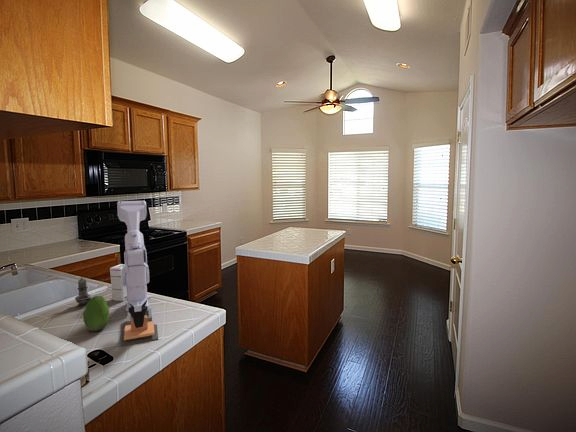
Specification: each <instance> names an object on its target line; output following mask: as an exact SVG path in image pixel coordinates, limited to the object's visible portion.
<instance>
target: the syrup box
mask: <svg viewBox="0 0 576 432" xmlns="http://www.w3.org/2000/svg"><path fill="white" fill-rule="evenodd" d="M124 265H125V263H124V264H123V263H120V264H118V265H115V266H112V267H110V268H109V272H110V273H109V275H110V282H111V283H110V286H111V296H112V301H116V302H117V301H118V302H125V301H127V289H126V286H123V284H122V268H123V266H124Z"/></svg>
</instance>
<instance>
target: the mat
mask: <svg viewBox="0 0 576 432" xmlns="http://www.w3.org/2000/svg"><path fill="white" fill-rule="evenodd" d="M154 331H155V335H150V336H146V337H140V338H135V339H128V340H124V332H125V329H122V331H121V338H120V339H121V340H120V347H125V346H130V345H131V346H132V345H136V344H141V343H146V342H152V341H158V340H159V333H158V332H159V331H158V324H157V323H154Z"/></svg>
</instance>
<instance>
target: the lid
mask: <svg viewBox="0 0 576 432" xmlns="http://www.w3.org/2000/svg"><path fill="white" fill-rule="evenodd" d="M154 324H155V321H154V320H152V321H150V322H147V315H145V316H144V323H143V327H139V328H136V327H135V324H134V321H133V318H132V317H131V325H127V324H126V325H125V327H124V330H125V332H124V340H128V339H135V338H140V337H146V336H150V335H155V331H154Z"/></svg>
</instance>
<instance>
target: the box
mask: <svg viewBox="0 0 576 432" xmlns="http://www.w3.org/2000/svg"><path fill="white" fill-rule="evenodd" d="M152 314H153V313H152V308H147V311H146V313H145V315H147V322H150V321H153V315H152ZM131 317H132V316H131V314H130V313H129V311H127V317H126V325H131Z"/></svg>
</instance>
